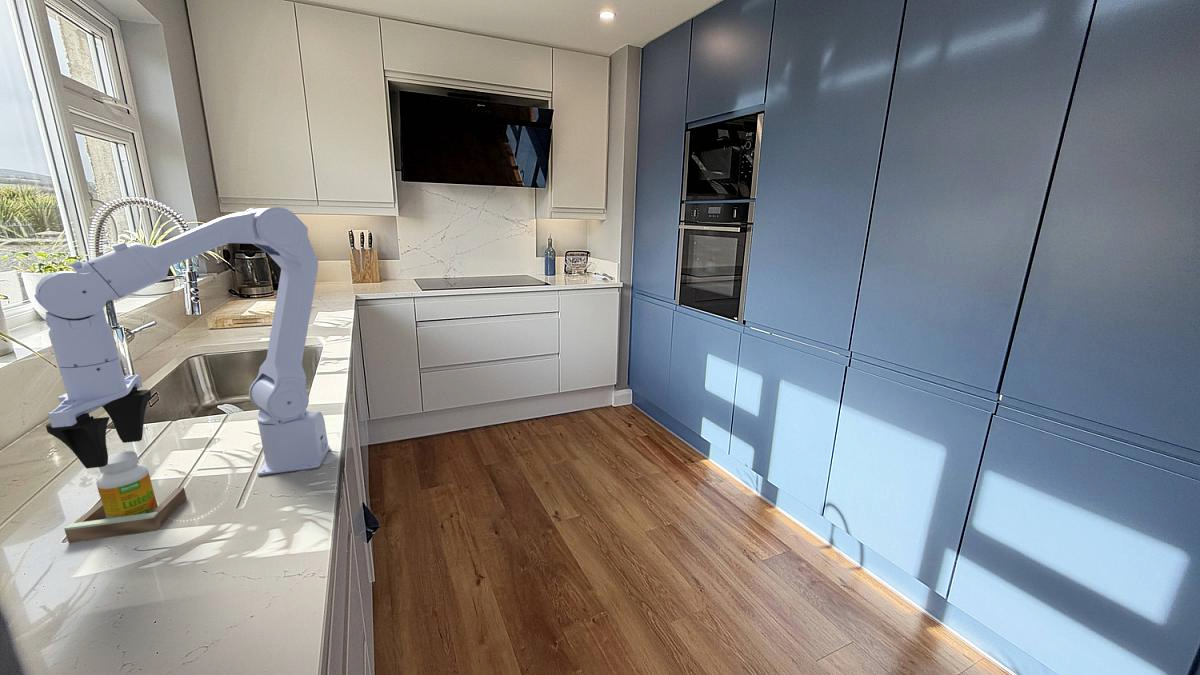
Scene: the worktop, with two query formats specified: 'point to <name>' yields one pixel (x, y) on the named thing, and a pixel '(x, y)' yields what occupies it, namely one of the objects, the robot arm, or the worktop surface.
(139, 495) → the supplement bottle
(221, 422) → the worktop surface
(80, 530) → the dock
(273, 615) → the worktop surface
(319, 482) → the worktop surface
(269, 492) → the worktop surface
